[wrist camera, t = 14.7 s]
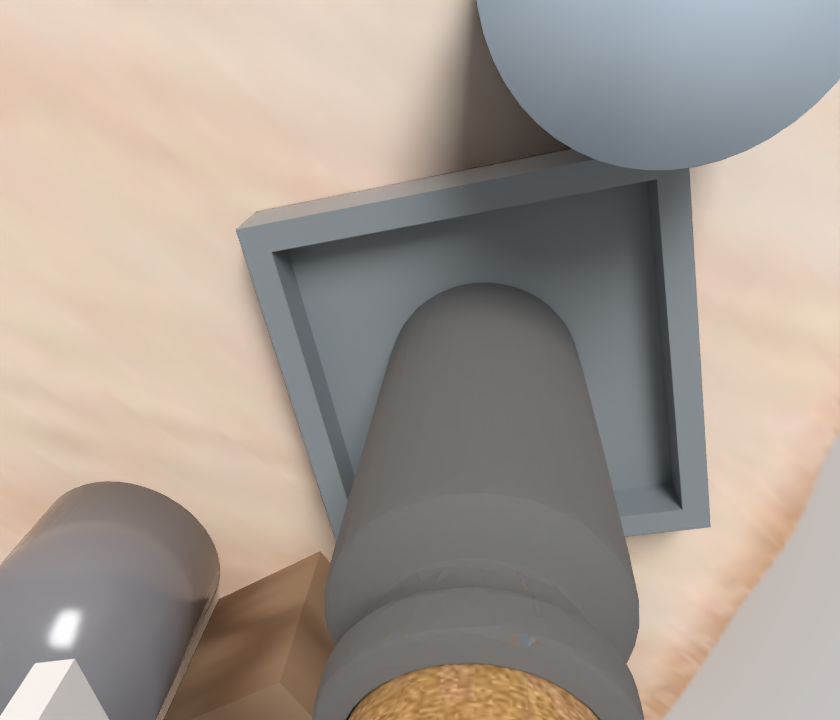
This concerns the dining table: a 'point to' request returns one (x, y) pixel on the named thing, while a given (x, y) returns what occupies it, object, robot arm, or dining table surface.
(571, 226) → the tray
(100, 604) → the gray domed object
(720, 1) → the light blue cylinder
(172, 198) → the dining table surface
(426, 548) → the bottle
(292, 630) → the walnut block
